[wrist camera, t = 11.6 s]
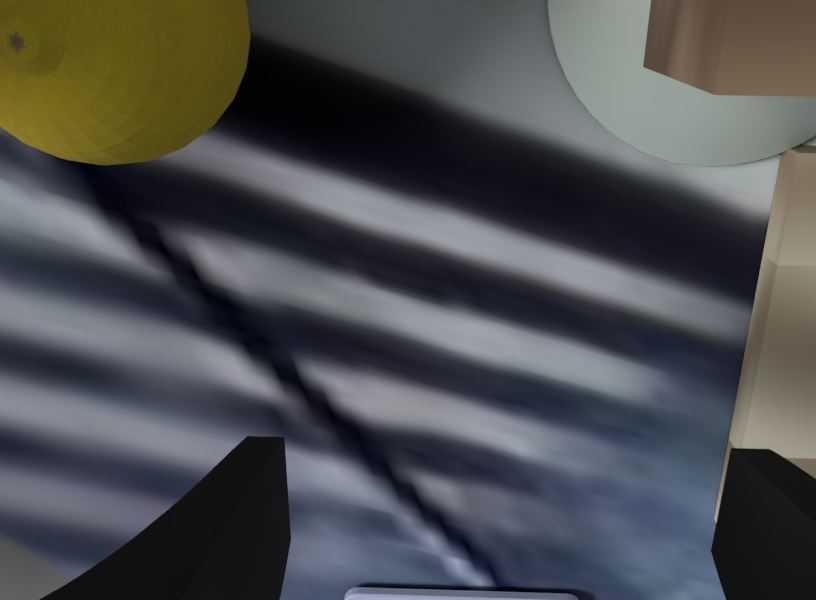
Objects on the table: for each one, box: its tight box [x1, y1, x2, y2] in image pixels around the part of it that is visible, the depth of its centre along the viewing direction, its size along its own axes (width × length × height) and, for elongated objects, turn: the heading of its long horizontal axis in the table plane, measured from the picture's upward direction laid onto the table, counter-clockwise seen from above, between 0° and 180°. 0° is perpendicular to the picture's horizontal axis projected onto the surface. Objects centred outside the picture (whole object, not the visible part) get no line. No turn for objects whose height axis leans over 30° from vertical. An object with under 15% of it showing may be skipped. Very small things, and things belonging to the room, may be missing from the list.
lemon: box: [0, 0, 251, 165], centre depth 16 cm, size 6×6×8 cm
